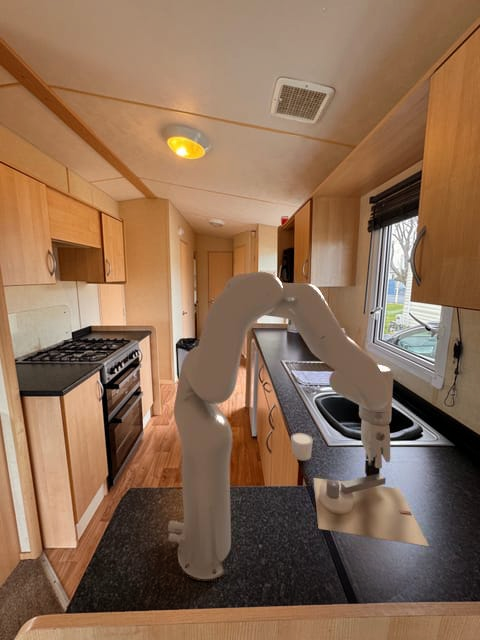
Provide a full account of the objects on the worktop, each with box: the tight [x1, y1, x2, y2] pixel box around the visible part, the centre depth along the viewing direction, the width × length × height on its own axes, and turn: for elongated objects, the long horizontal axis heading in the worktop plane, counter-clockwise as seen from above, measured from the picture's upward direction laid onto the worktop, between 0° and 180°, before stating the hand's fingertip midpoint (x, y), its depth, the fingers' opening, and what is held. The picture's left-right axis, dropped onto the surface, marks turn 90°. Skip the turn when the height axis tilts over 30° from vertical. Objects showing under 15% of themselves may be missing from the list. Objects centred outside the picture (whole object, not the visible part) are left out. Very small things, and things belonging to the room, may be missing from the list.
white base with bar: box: [319, 472, 386, 514], centre depth 68 cm, size 18×8×5 cm, turn 106°
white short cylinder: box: [290, 432, 314, 461], centre depth 85 cm, size 7×7×7 cm
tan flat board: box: [313, 477, 430, 547], centre depth 65 cm, size 22×16×2 cm
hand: (372, 475), depth 73 cm, fingers closed
